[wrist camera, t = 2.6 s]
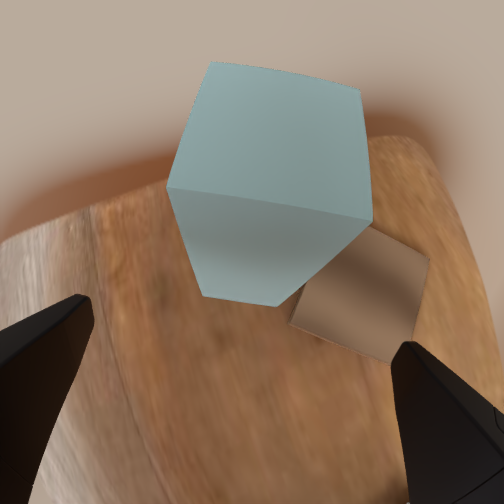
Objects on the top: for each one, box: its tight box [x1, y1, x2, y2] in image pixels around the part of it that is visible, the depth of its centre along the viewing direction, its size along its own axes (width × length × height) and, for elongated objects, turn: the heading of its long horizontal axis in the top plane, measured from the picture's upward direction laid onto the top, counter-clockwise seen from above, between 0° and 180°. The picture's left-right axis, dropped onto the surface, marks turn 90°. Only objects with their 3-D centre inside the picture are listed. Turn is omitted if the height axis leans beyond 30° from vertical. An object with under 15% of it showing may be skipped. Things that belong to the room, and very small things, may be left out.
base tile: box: [287, 226, 430, 366], centre depth 21 cm, size 9×9×2 cm
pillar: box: [166, 62, 373, 307], centre depth 14 cm, size 5×5×14 cm
